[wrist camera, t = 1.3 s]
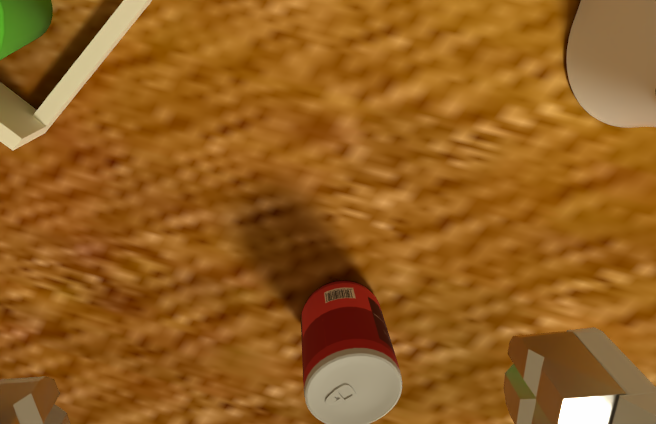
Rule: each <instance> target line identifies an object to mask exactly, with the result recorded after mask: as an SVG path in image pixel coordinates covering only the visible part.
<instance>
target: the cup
mask: <svg viewBox="0 0 656 424" xmlns="http://www.w3.org/2000/svg"><path fill="white" fill-rule="evenodd" d="M51 19H52V3H51V0H0V60H1V59H2V58H4V57H6V56H8V55H9V54H11V53H13V52H15V51H16V50H18V49H20V48H22V47H23V46H25V45H27V44H28V43H30V42H32V41H34V40H35V39H37V38H39V37H40V36H42V35H43V34H44V33H45V32H46V31H47V29H48V27H49V25H50V23H51Z"/></svg>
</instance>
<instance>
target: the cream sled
mask: <svg viewBox="0 0 656 424" xmlns="http://www.w3.org/2000/svg"><path fill="white" fill-rule="evenodd" d="M151 1H152V0H124V1H123V2H122V3H121V4H120V6H119V7H118V8H117V9H116V11H115V12H114V13H113V14H112V16H111V17H110V18H109V20H108V21H107V22H106V23H105V25H104V26H103V27H102V28H101V30H100V31H99V32H98V33H97V35H96V36H95V37H94V39H93V40H92V41H91V42H90V44H89V45H88V46H87V47H86V49H85V50H84V51H83V52H82V54H81V55H80V56H79V58H78V59H77V60H76V61H75V63H74V64H73V65H72V66H71V68H70V69H69V70H68V71H67V73H66V74H65V75H64V77H63V78H62V79H61V80H60V82H59V83H58V84H57V85H56V87H55V88H54V89H53V90H52V92H51V93H50V94H49V96H48V97H47V98H46V99H45V101H44V102H43V103H42V104H41V106H40V107H39V108H38V109H37V110H36V109H35V108H34V107H32V106H31V105H30V104H28V103H27V102H26V101H25V100H23V99H22V98H21V97H19V96H18V95H17V94H15V93H14V92H13V91H12V90H10V89H9V88H8V87H6V86H5V85H4V84H2V83H1V82H0V142H2V143H3V144H4V145H6V146H7V147H9V148H10V149H11V150H15V149H17V148H19V147H20V146H22V145H24V144H26V143H28V142H30V141H32V140H33V139H35V138H37V137H39V136H41V135H43V134H44V133H46V131H47V130H48V129H49V128H50V126H51V125H52V124H53V123H54V121H55V120H56V119H57V118H58V116H59V115H60V114H61V113H62V111H63V110H64V109H65V108H66V106H67V105H68V104H69V103H70V102H71V100H72V99H73V98H74V97H75V95H76V94H77V93H78V92H79V90H80V89H81V88H82V87H83V85H84V84H85V83H86V82H87V80H88V79H89V78H90V77H91V76H92V74H93V73H94V72H95V71H96V69H97V68H98V67H99V66H100V64H101V63H102V62H103V61H104V59H105V58H106V57H107V56H108V54H109V53H110V52H111V51H112V49H113V48H114V47H115V46H116V45H117V43H118V42H119V41H120V40H121V38H122V37H123V36H124V35H125V33H126V32H127V31H128V30H129V28H130V27H131V26H132V25H133V23H134V22H135V21H136V20H137V19H138V17H139V16H140V15H141V14H142V12H143V11H144V10H145V9H146V7H147V6H148V5H149V4H150V2H151Z"/></svg>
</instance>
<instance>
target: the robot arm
mask: <svg viewBox="0 0 656 424" xmlns="http://www.w3.org/2000/svg"><path fill="white" fill-rule="evenodd" d="M566 61H567V73H568V78H569V82H570V85H571V88H572V91H573V93H574V95H575V97H576V99H577V100H578V102H579V103H580V105H581V106H582V107H583V108H584V109H585V110H586V111H587V112H588V113H589V114H590V115H591V116H593V117H594V118H596V119H598V120H599V121H602V122H604V123H606V124H609V125H613V126H618V127H656V0H581V2H580V5H579V8H578V11H577V14H576V16H575V19H574V22H573V24H572V28H571V31H570V35H569V40H568V45H567V59H566ZM508 355H509V357H510V358H511V360H512V362H513V363H514V364H513V365H512V366H511V367H510V368H509V369H508V371H507V372H506V373H505V379H504V393H505V400H506V405H507V407H508V410H509V413H510V416H511V418H512V420H513V421H514V423H515V424H656V387H655V386H654V385H653V384H652V383H651V382H650V381H649V380H648V379H647V378H646V377H645V376H644V375H643V373H642V372H641V371H640V370H639V369H638V368H637V367H636V366H635V365H634V364H633V363H632V362H631V361H630V360H629V359H628V358H627V357H626V356H625V355H624V354H623V353H622V352H621V351H620V350H619V348H618V347H617V346H616V345H615V344H614V343H613V342H612V341H611V340H610V339H609V338H608V337H607V336H606V335H605V334H604V333H603V332H602V331H601V330H599V329H596V328H585V329H576V330H567V331H563V332H552V333H541V334H530V335H520V336H513V337H512V339H511V341H510V343H509V349H508ZM59 395H60V392H59V390H58V388H57V385H56V383H55V380H54V379H52V378H49V377H30V378H15V379H0V424H70V421H69V418H68V415H67V413H66V412H65V411H63V410H62V409H60V408H59V407H58V406H56V405H55V402H56V400H57V398H58V396H59Z"/></svg>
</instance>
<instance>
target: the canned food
mask: <svg viewBox="0 0 656 424" xmlns="http://www.w3.org/2000/svg"><path fill="white" fill-rule="evenodd" d="M301 332H302V359H303V382H304V395H305V400H306V404H307V406H308V409H309V410H310V412H311V413H312V414H313V415H314V416H315V417H316V418H317V419H319V420H320V421H322V422H324V423H326V424H369V423H371V422H374V421H376V420H378V419H380V418H381V417H383V416H384V415H386V414H387V413H388V412H389V411H390V410H391V409H392V408H393V407H394V406H395V404H396V403H397V401H398V399H399V397H400V395H401V391H402V380H401V374H400V370H399V367H398V363H397V359H396V356H395V353H394V350H393V346H392V343H391V340H390V337H389V334H388V331H387V327H386V324H385V321H384V318H383V315H382V311H381V308H380V305H379V302H378V300H377V299H376V297H375V296H374V295H373V294H372V292H371V291H370V290H368V289H367V288H366V287H364V286H363V285H361V284H358V283H356V282H351V281H337V282H332V283H329V284H326V285H324V286H322V287H320V288H319V289H317V290H316V291H315V292H314V293H313V294H312V295H311V296H310V297H309V299H308V300H307V302H306V304H305V306H304V308H303V311H302V315H301Z"/></svg>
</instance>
